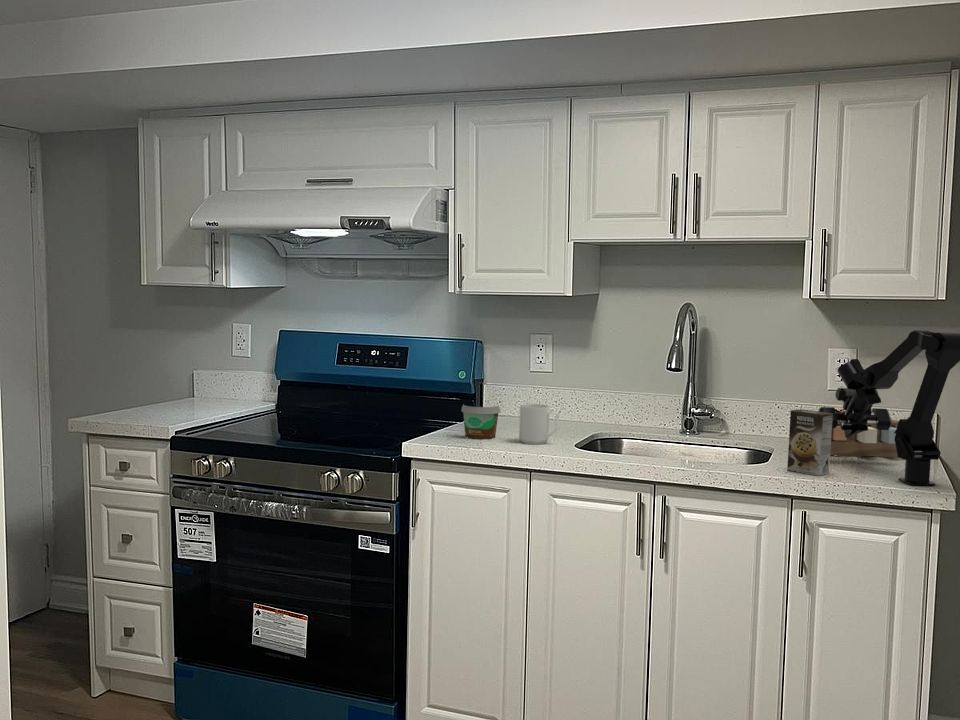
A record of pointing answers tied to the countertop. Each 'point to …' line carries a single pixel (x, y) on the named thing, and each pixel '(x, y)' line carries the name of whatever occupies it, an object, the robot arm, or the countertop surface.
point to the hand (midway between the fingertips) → (846, 436)
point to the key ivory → (867, 436)
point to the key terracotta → (838, 433)
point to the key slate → (888, 435)
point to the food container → (480, 421)
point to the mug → (535, 423)
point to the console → (864, 445)
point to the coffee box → (810, 442)
